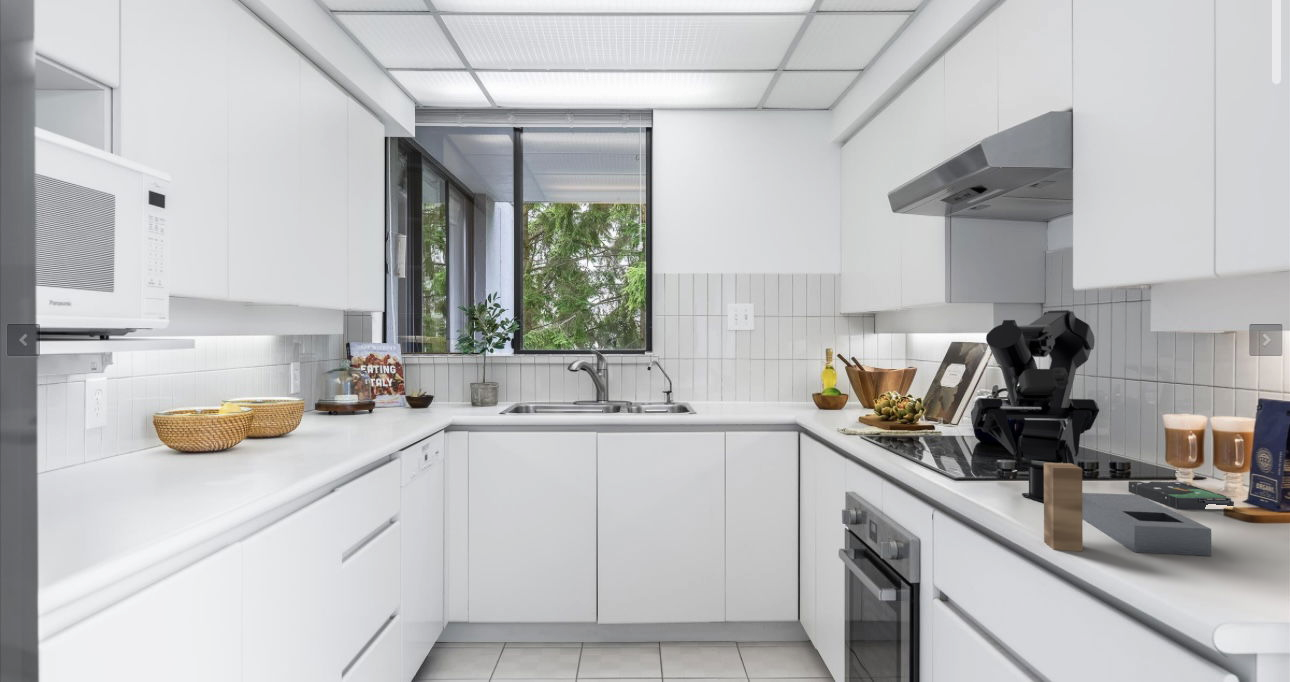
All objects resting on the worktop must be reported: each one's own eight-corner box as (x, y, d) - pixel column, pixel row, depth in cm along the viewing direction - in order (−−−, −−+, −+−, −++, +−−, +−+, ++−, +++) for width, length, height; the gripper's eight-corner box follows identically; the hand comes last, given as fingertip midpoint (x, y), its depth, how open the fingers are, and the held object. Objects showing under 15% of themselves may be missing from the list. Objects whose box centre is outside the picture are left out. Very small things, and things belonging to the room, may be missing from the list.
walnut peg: (1044, 541, 109) (1043, 462, 109) (1072, 543, 108) (1071, 463, 108) (1053, 549, 105) (1053, 467, 105) (1082, 551, 105) (1082, 468, 104)
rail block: (1075, 514, 125) (1075, 492, 125) (1138, 517, 123) (1138, 494, 123) (1134, 552, 104) (1134, 525, 104) (1211, 556, 102) (1211, 528, 102)
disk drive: (1126, 494, 143) (1177, 512, 128) (1126, 481, 143) (1176, 496, 128) (1179, 495, 142) (1236, 512, 127) (1179, 481, 142) (1235, 497, 128)
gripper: (975, 351, 121) (993, 422, 110) (1094, 351, 117) (1125, 425, 106) (964, 393, 129) (980, 463, 118) (1076, 394, 125) (1103, 466, 114)
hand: (1045, 454), depth 114 cm, fingers open, 9 cm apart
